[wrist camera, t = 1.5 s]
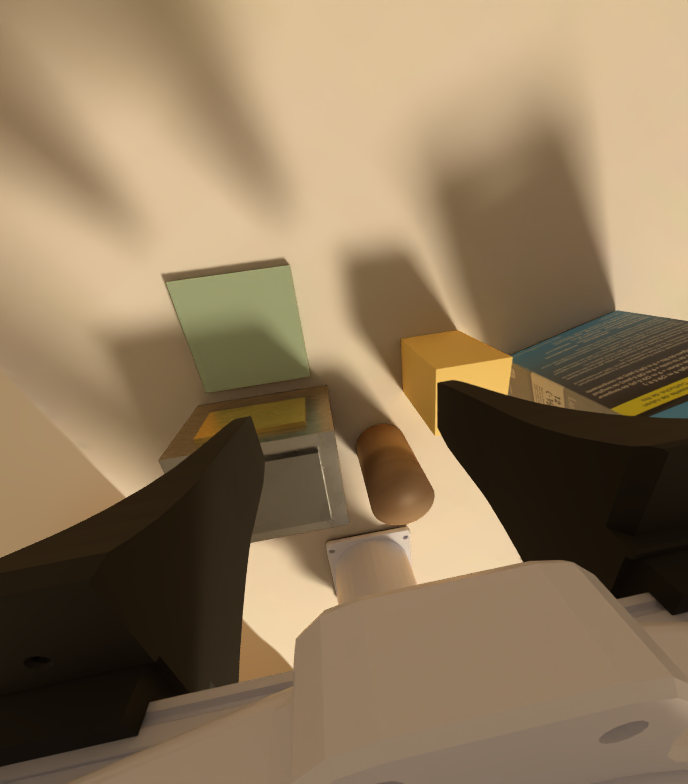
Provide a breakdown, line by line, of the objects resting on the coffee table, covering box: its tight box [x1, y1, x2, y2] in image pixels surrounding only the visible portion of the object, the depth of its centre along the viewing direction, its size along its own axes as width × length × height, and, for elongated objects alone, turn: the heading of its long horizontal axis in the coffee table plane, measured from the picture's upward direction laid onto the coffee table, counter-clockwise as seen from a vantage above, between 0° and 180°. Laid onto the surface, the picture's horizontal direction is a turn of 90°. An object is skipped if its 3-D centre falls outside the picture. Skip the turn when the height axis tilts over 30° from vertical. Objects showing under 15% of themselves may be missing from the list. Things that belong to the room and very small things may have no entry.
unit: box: [158, 385, 349, 543], centre depth 19 cm, size 7×9×6 cm
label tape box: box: [508, 311, 688, 418], centre depth 16 cm, size 9×4×12 cm, turn 112°
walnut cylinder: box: [356, 424, 434, 525], centre depth 21 cm, size 4×4×6 cm
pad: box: [166, 265, 310, 393], centre depth 18 cm, size 7×7×1 cm
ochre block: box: [401, 330, 513, 436], centre depth 18 cm, size 4×4×6 cm
